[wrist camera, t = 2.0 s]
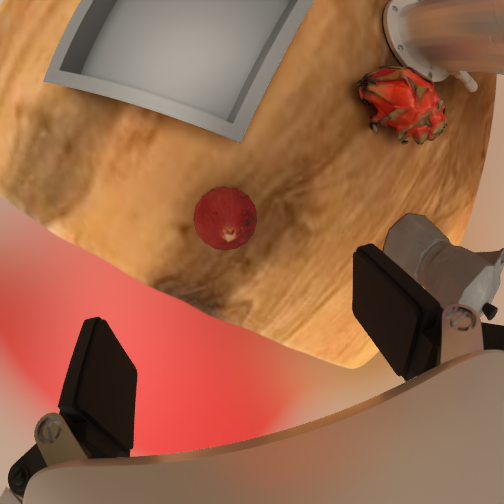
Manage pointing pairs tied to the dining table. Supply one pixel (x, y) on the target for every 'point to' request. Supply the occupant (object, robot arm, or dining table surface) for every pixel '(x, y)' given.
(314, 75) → the dining table surface
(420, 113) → the dragon fruit
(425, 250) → the coffeepot
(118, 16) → the charcoal bin
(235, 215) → the onion
